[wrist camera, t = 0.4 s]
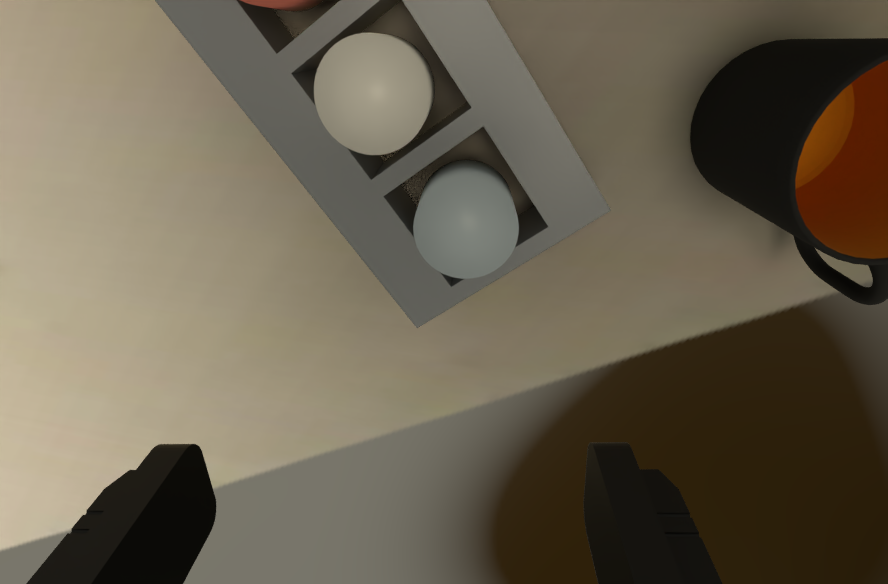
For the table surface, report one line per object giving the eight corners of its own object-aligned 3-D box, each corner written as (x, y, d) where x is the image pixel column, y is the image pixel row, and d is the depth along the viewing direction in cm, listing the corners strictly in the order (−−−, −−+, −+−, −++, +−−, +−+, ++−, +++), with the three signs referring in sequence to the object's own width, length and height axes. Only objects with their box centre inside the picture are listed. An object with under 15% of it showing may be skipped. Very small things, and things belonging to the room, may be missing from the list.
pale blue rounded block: (479, 140, 27) (481, 155, 24) (529, 218, 29) (538, 243, 25) (402, 194, 28) (392, 216, 25) (454, 265, 30) (452, 296, 26)
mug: (714, 274, 33) (810, 365, 24) (676, 75, 29) (776, 91, 19) (860, 230, 32) (1025, 309, 22) (844, 13, 27) (1042, -3, 18)
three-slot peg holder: (352, -215, 24) (329, -266, 20) (592, 188, 31) (611, 210, 27) (168, -35, 28) (116, -48, 24) (423, 294, 35) (417, 328, 31)
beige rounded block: (394, 11, 25) (381, 5, 21) (454, 102, 26) (451, 111, 23) (314, 75, 26) (290, 81, 23) (376, 159, 28) (362, 176, 24)
